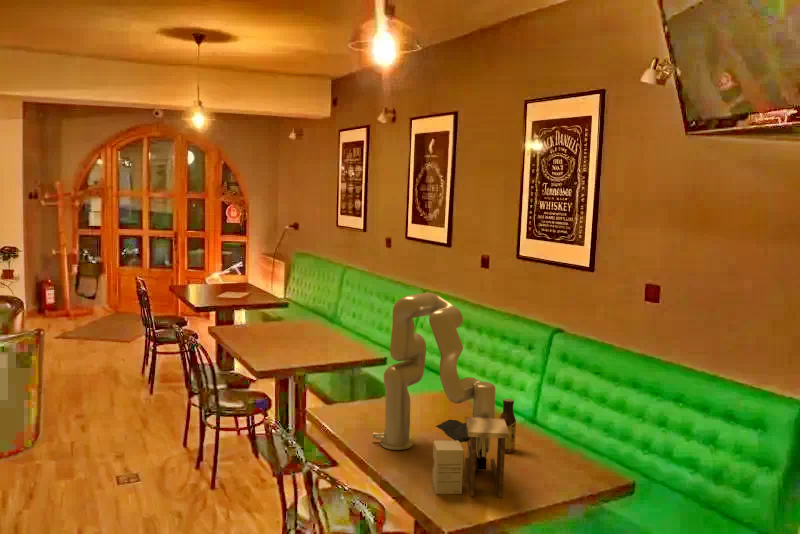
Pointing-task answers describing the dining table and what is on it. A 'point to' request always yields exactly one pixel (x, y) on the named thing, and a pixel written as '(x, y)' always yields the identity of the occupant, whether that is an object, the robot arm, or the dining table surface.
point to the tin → (469, 454)
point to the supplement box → (447, 467)
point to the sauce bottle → (509, 424)
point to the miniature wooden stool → (500, 431)
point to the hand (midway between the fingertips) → (481, 468)
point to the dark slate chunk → (455, 430)
